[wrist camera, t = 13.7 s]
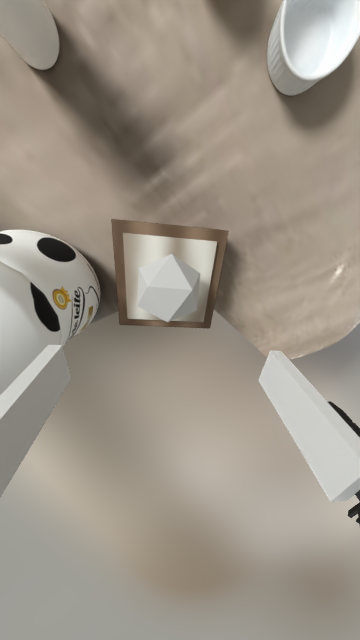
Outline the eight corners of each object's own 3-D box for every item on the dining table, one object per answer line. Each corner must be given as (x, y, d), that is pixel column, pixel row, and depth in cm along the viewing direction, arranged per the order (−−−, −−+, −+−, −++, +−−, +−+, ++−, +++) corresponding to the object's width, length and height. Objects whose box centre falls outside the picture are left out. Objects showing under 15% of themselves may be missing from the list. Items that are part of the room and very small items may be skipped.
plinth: (125, 311, 36) (118, 326, 31) (120, 219, 29) (110, 219, 23) (204, 314, 38) (210, 329, 32) (218, 229, 30) (229, 230, 25)
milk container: (116, 319, 37) (79, 391, 21) (31, 328, 36) (-72, 409, 21) (88, 223, 28) (-9, 222, 13) (-23, 235, 28) (-264, 249, 12)
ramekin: (264, 114, 24) (283, 93, 20) (257, 5, 20) (279, -47, 16) (332, 86, 23) (364, 60, 20) (339, -33, 19) (382, -96, 15)
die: (129, 263, 27) (120, 323, 23) (166, 225, 21) (163, 296, 17) (171, 286, 32) (170, 337, 28) (210, 260, 26) (216, 321, 22)
